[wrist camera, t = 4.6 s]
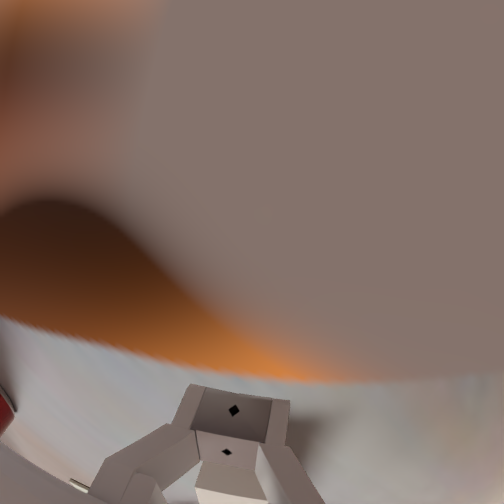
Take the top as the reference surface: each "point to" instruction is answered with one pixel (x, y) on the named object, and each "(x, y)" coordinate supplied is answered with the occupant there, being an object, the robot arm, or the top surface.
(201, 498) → the plug
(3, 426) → the soda can
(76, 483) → the pad
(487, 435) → the top surface
